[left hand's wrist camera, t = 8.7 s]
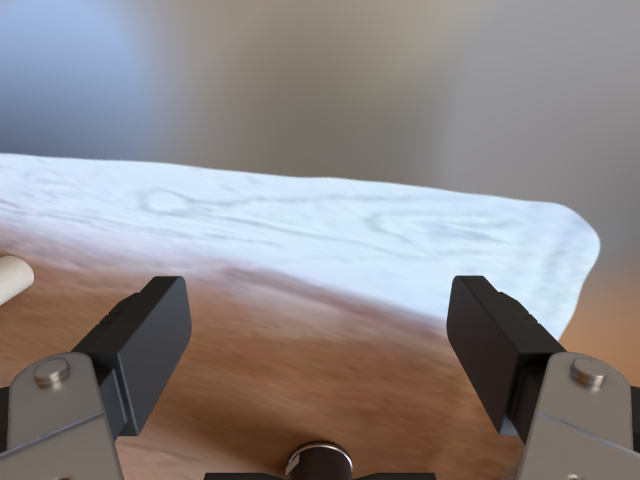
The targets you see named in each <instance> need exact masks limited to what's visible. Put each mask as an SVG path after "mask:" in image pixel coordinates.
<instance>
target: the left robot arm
mask: <svg viewBox="0 0 640 480" xmlns="http://www.w3.org/2000/svg"><path fill="white" fill-rule="evenodd" d="M447 335H448V339H449V342H450V344H451V346H452V348H453V349H454V351H455V353H456V355H457V357H458V359H459V361H460V363H461V365H462V366H463V368H464V370H465V372H466V374H467V376H468V378H469V380H470V381H471V383H472V385H473V387H474V389H475V391H476V393H477V395H478V396H479V398H480V400H481V402H482V404H483V406H484V408H485V410H486V412H487V413H488V415H489V417H490V419H491V421H492V423H493V425H494V427H495V428H496V430H497V432H498V434H499V435H519V436H520V438H521V439H522V441H523V443H524V444H525V447H524V451H523V455H522V458H521V462H520V466H519V470H518V473H517V477H516V480H640V388H639V387H634V386H630V384H629V383H628V381H627V380H626V378H625V377H624V376H623V375H622V374H621V373H620V372H619V371H617V370H616V369H615V368H613V367H612V366H610V365H608V364H606V363H605V362H603V361H600V360H598V359H596V358H593V357H590V356H587V355H584V354H579V353H573V352H567V351H566V350H565V349H564V348H563V347H562V346H561V345H560V344H559V343H558V342H557V341H556V339H555V338H554V337H553V336H552V335H551V334H550V333H549V332H548V331H547V330H546V329H545V328H544V327H543V326H542V325H541V324H538V321H537V320H536V319H535V318H534V317H533V316H532V315H531V314H529V312H528V311H527V310H526V309H525V308H524V307H523V306H522V305H521V304H520V303H519V302H518V301H517V300H515V299H513V298H512V297H510V296H508V295H506V294H505V293H503V292H498V291H497V290H496V289H495V288H494V287H493V286H492V285H491V284H490V283H489V282H488V280H487V279H486V278H485V277H484V276H455V277H454V279H453V282H452V288H451V295H450V302H449V309H448V316H447ZM190 336H191V316H190V309H189V303H188V296H187V289H186V283H185V280H184V278H183V277H182V276H155V277H154V278H153V279H152V280H151V281H150V282H149V283H148V284H147V285H146V286H145V287H144V288H143V289H142V290H141V291H140V293H134V294H132V295H131V296H129V297H127V298H125V299H124V300H122V301H120V302H119V303H118V304H117V305H116V306H115V307H114V308H113V309H112V310H111V311H110V312H109V315H106V316H105V317H104V318H103V319H102V320H101V321H100V324H97V325H96V326H95V327H94V328H93V329H92V330H91V331H90V332H89V333H88V334H87V335H86V336H85V337H84V338H83V339H82V340H81V341H80V342H79V343H78V344H77V345H76V346H75V347H74V348H73V349H72V350H71V352H66V353H60V354H56V355H53V356H49V357H47V358H44V359H42V360H39V361H37V362H35V363H34V364H32V365H30V366H28V367H27V368H25V369H24V370H23V371H21V372H20V373H19V374H18V375H17V376H16V377H15V378H14V379H13V381H12V382H11V384H10V386H8V387H4V388H0V480H124V477H123V473H122V470H121V466H120V462H119V458H118V455H117V451H116V447H115V444H114V442H115V440H116V439H117V437H118V436H139V434H140V432H141V430H142V428H143V426H144V424H145V423H146V421H147V419H148V417H149V415H150V413H151V411H152V410H153V408H154V406H155V404H156V402H157V400H158V398H159V397H160V395H161V393H162V391H163V389H164V387H165V385H166V384H167V382H168V380H169V378H170V376H171V374H172V372H173V371H174V369H175V367H176V365H177V363H178V361H179V359H180V358H181V356H182V354H183V352H184V350H185V348H186V346H187V345H188V343H189V340H190ZM287 474H288V480H436V477H435V474H434V473H376V474H372V475H368V476H364V477H361V478H357V479H353V478H352V461H351V458H350V456H349V454H348V453H347V452H346V451H345V450H344V449H343V448H341V447H339V446H337V445H335V444H332V443H328V442H313V443H308V444H305V445H303V446H301V447H299V448H298V449H296V450H295V451H294V452H293V453H292V455H291V456H290V458H289V462H288V466H287V467H286V473H285V477H286V476H287ZM204 480H287V479H283V478H279V477H276V476H272V475H268V474H264V473H206V474H205V477H204Z"/></svg>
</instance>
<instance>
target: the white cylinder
mask: <svg viewBox="0 0 640 480" xmlns="http://www.w3.org/2000/svg"><path fill="white" fill-rule="evenodd" d="M33 281H34V273H33V270H32V268H31V267H30V266H29V264H28V263H26V262H25V261H24V260H22V259H21V258H18V257H16V256H9V255H8V256H2V257H0V306H1V305H2V304H4V303H6V302H7V301H9V300H10V299H12V298H13V297H15V296H16V295H18V294H19V293H21V292H22V291H24V290H26V289H27V288H29V287H30V286H31V285H32V283H33Z"/></svg>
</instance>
